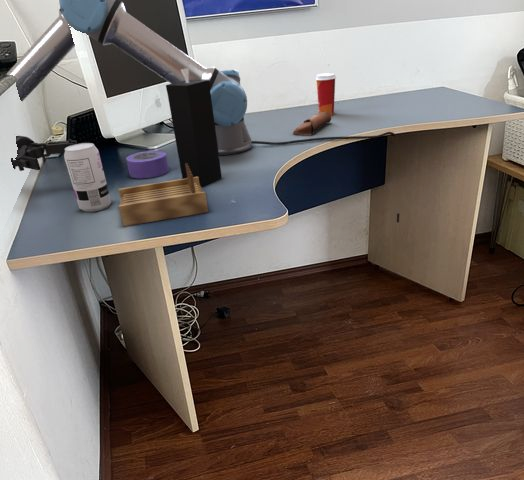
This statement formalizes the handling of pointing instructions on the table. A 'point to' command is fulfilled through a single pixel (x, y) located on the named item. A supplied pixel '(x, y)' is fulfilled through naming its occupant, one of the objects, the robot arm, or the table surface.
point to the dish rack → (162, 200)
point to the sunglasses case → (313, 124)
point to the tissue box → (194, 128)
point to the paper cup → (326, 92)
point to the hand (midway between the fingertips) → (61, 157)
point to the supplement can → (87, 177)
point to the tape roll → (147, 164)
